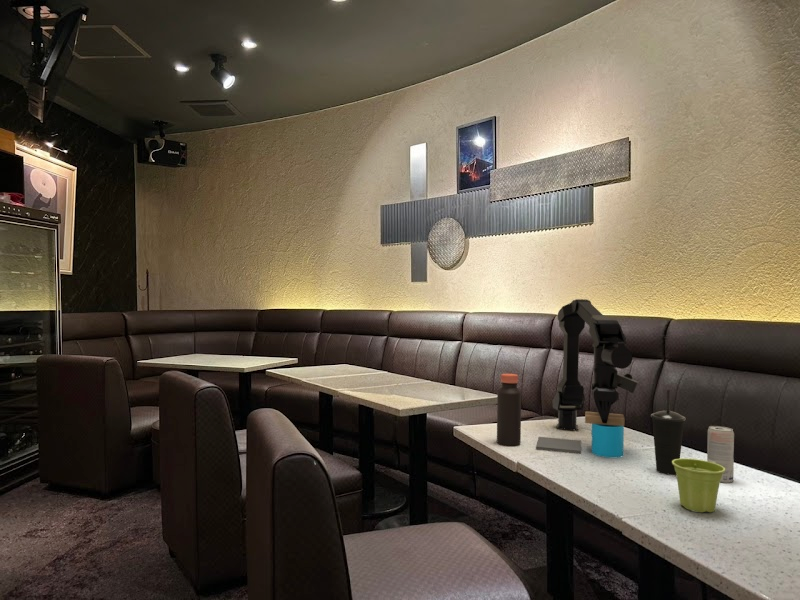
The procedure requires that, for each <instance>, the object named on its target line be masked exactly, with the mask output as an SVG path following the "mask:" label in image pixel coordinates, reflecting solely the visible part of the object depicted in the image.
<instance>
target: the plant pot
mask: <svg viewBox="0 0 800 600" xmlns="http://www.w3.org/2000/svg"><path fill="white" fill-rule="evenodd" d="M672 464H673V465H674V468H675V472H676V474H675V475H676V480H677V488H678V497H679V505H681V506H683V507H684V508H685V509H686V510H688V511H692V512H697V513H704V512H707V513H713V512H715V510H716V506H717V499H718V493H719V487H720V484H721V482H720V479H721V478H722V474H723V472H725V468H724V467H723V466H721V465H719V464H716V463H712V462H708V461H707V460H703V459H702V460H701V459H697V458H696V459H695V458H680V459H675V460H673V461H672Z"/></svg>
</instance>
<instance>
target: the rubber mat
mask: <svg viewBox="0 0 800 600" xmlns="http://www.w3.org/2000/svg"><path fill="white" fill-rule="evenodd" d="M537 438H538V439H537V441H536V444H535V450H536V449H537V450H538V451H539V450H540V451H546V450H548V452H560V453H567V452H569V454H578V453H579V454H581V455H582V440H578V439H567V438H558V437H557V438H555V437H545V436H538V437H537Z"/></svg>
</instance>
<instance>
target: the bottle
mask: <svg viewBox="0 0 800 600" xmlns="http://www.w3.org/2000/svg"><path fill="white" fill-rule="evenodd" d="M500 382H501V383H500V384H501V387H500V388H498V390H497V392H496V393H497V397H496V398H497V401H496V403H497V406H496V407H497V408H496V414H497V415H496V416H497V417H496V442H497V444H499V445H500V446H505V445H506V447H507V446H508V447H516V446H519V445H520V444H521V434H522V433H521V432H522V431H521V428H522V427H521V426H522V391H520V389H519V388H518V384H519V375H518V374H515V373H501V374H500Z"/></svg>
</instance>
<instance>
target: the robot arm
mask: <svg viewBox="0 0 800 600" xmlns="http://www.w3.org/2000/svg"><path fill="white" fill-rule="evenodd" d="M557 321H558V326H559V328H560V329H561V332H562V333H563V359H562V361H563V362H562V363H563V364H562V378H561V380H560V382H559V383H558V385H557V388H556V393H555V395H554V396H553V399H552V402H551V403H552V408H553V409H554V410H556V411H558V420H557V421H558V422H557V423H556V429H558V430H565V431H566V430H567V431H579V430H578V427H579V426H578V424H577V416H578V415H577V414H578V413H577V412H578V411H583V410H584V406H585V400H586V399H585V398H586V396H585V394H584V389H585V388H584V386H583V385H582V384H581V382H580V381H579V362H580V361H579V360H580V359H579V357H580V355H579V354H580V353H579V351H580V335H581V333H582V332H583V331H584V329H585V327H586V324H587V325H588V326H589V330H588V333H589V334H590V337H591V338H592V341H593V343H592V345H591V346H592V348H593V380H592V382H591V390H592V396H593V397H592V398H593V401H594V403H595V406H596V408H597V412H599V415H600V417H601V420H602V423H607V420H608V416H609V413H610V411H611V408H612V405H613V404H615V403H616V402H617V401H619V395H620V392H619V391H618V387H619V388H621V389H623V390H626V391H628V392H629V393H632V394H635V392H636V390H637V387H638V385H639V382H638V381H637V380H636V379H633V375H632V374H630V373H629V372H625V373H624V374H620V373H618V369H621V370H622V369H627V368H628V367H630V366H631V364H632V362H633V355H632V352H631V351H630V349H629V348H628V347H626V345H627V341H626V340H627V337H626V336H625V333H624V332H623V328H622V326H621V324H620V322H619V321H618V320H617V319H615V318H613V317H611V316H606V315H603V313H601V311H599V310H598V309H597V308H596V306H594V305H593V304H592V302H591V300H589V299H585V298H584V299H582V298H581V299H580V298H578V299H576V298H575V299H572V301H571V302H570V303H567V304H565V305H562V306H561V308H560V309H559V310H558V312H557Z"/></svg>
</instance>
